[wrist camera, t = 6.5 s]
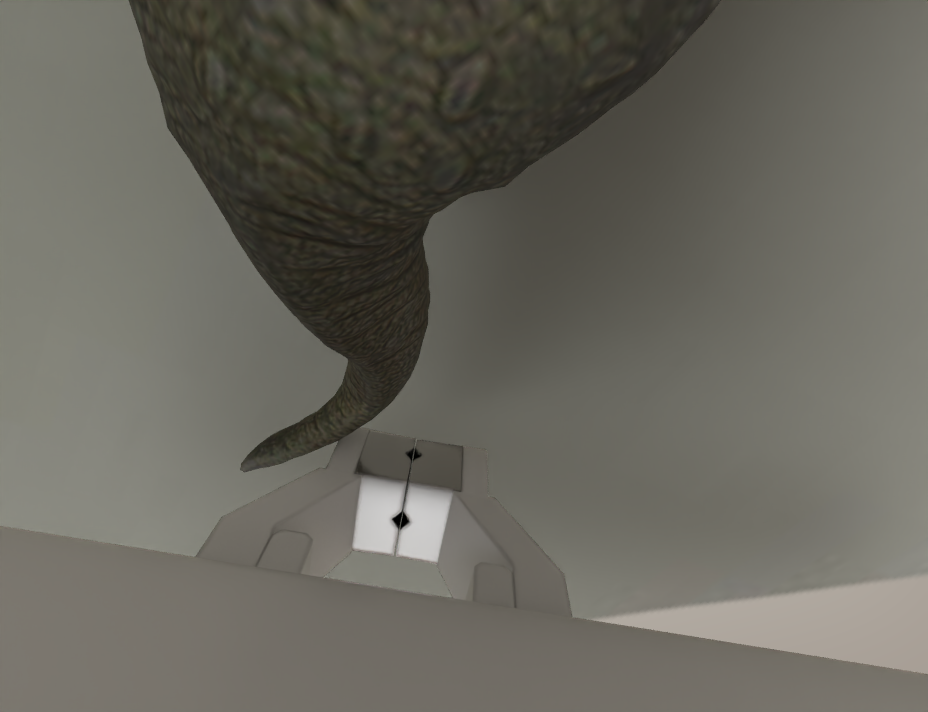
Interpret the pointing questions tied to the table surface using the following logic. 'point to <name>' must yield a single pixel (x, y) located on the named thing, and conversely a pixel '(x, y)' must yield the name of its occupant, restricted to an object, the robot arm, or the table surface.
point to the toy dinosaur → (380, 143)
